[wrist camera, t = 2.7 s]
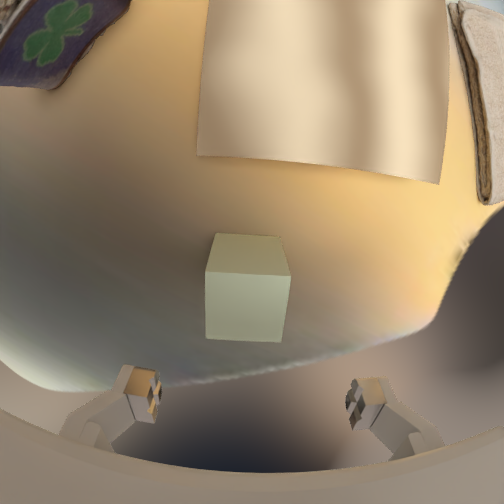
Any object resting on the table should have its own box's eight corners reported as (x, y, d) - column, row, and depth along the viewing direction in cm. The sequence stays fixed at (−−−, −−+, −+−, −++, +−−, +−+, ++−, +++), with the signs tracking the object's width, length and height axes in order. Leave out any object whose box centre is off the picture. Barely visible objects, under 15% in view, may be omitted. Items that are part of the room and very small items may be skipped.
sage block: (214, 288, 23) (205, 338, 17) (215, 232, 21) (205, 271, 15) (273, 291, 23) (281, 342, 17) (279, 236, 21) (291, 276, 16)
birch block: (208, 149, 19) (196, 155, 14) (225, -29, 14) (219, -65, 9) (402, 171, 20) (438, 184, 15) (409, 6, 14) (443, -14, 10)
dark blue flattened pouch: (55, 95, 16) (-51, 96, 6) (38, 76, 15) (-63, 71, 6) (139, 2, 14) (67, -67, 4) (117, -14, 13) (44, -76, 3)
